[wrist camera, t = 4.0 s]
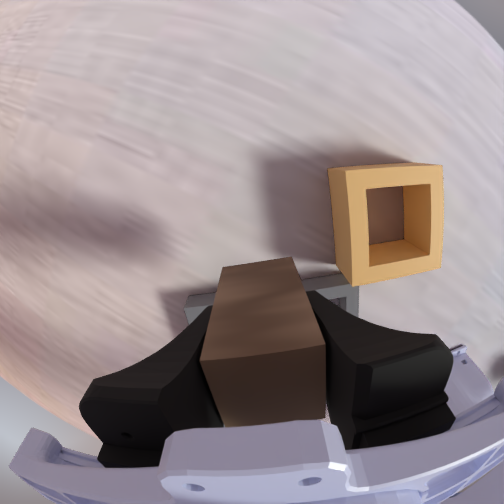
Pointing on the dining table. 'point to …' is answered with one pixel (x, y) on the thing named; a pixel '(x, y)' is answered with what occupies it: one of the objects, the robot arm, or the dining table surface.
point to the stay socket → (415, 221)
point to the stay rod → (264, 347)
